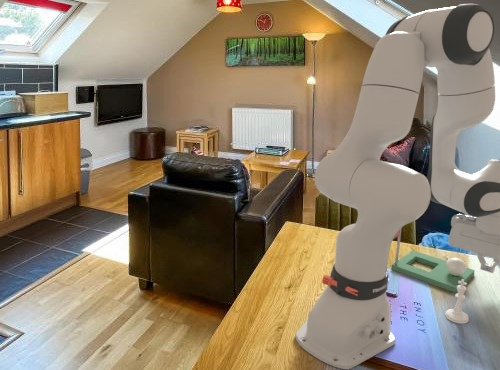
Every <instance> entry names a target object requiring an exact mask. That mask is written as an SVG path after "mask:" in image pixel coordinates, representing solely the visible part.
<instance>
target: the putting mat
mask: <svg viewBox="0 0 500 370" xmlns="http://www.w3.org/2000/svg"><path fill="white" fill-rule="evenodd" d="M402 228H403V227H401V228H400V229H399V230H398V232H397V233H396V234H395V236H394V238H393V240H394V239H396V238H397V243H396V251H395V252H396V253H395V258H394V259H395V261H394V262H393V263H392V264H391V270H394V271H396V272H398V273H400V274H403V275H407V276H409V277H412V278H413V279H417V280H420V281H422V282H424V283H428V284H431V285H433V286H436V287H438V288H441V289H444V290H445V291H446V290H447V291H449V292H452V293H455V294H458V291H457V286H458V285H461V284H460V283H458V281H462V279H464V282H465V283H468V282H469V280H471V279H472V278H473V277H474V275H475V271H476V270H475V269H473V268H469V267H466V271H465V273H464V274H462V275H460V276H454V275H451V274H450V273H449V272H448V271H447V269H446V263H447V261H448V260H445V259H441V258H438V257H435V256H432V255H428V254H425V253H424V252H423V253H422V252H419V251H416V250H412V251H410V252H408V253H407V254H405V255H404V256H403V257H400V258H399V254H400V245H401V238H402ZM414 262H417V263H421V264H424V265H426V266H430V267H433V269H431V270H430V271H429V270H428V271H427V270H424V269H422V268H419V267H416V266H413V265H411V264H413V263H414Z"/></svg>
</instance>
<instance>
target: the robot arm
mask: <svg viewBox="0 0 500 370" xmlns="http://www.w3.org/2000/svg"><path fill="white" fill-rule="evenodd" d="M494 35H495V23H494V19H493V16H492V15H491V13H490V12H489V11H488V9H487V8H486V7H485V6H483V5H481V4H477V3H476V4H475V3H463V4H458V5H457V6H450V7H442V8H438V9H437V8H433V9H428V10H425V11H421V12H417V13H415V14H413V15H407V16H404V17H401V18H400V19H398V20H396V21H394V22H393V23H392V24H391V25H390V27H388V29H387V31H386V33H385V35H383V36H382V37H381V38H380V39H378V41H377V42H376V44H375V46H374V48H373V50H372V53H371V55H370V58H369V60H368V62H367V66H366V68H365V69H366V70H365V73H364V76H363V79H362V83H361V87H360V91H359V96H358V100H357V103H356V104H357V105H356V108H355V112H354V116H353V119H352V122H351V125H350V128H349V129H348V131H347V133H346V135H345V136H344V138H343V140H342V141H341V142H340V144H339V145H338V146H337V147H336V148H335V149H334V150H333V151H332V152H330V153H329V154H328V155H326V156H324V157H323V158H322V159H321V160H320V161H319V163H318V164H317V165H316V169H315V172H314V183H315V184H314V185H315V187H316V189H317V190H318V191H319V192H320V194H323V195H324V196H325V197H327V198H329V199H330V200H331V201H333V202H335V203H338V204H340V205H344V206H347V207H350V208H352V209H356V211H357V219H356V221H355V223H351V224H349V225H346V226H344V227H343V228H342V229H341V230H340V231H339V232H338V234H337V236H336V238H335V239H336V243H335V254H334V255H335V256H334V257H335V258H334V263H333V265H332V269H331V270H330V275H328V274H325V275H323V276H322V278H321V279H322V281H321V283H322V284H323V285H326V287H325V289H324V290H323V291H322V293H321V295H320V296H319V298H318V299H317V301H316V302H315V303H314V305H313V307H312V308H311V310H310V311H309V314H308V316H307V317H308V318H307V320H306V321H305V322H304V323H303V324H302V326H301V327H299V329H298V330H297V331H296V332H295V336H294V337H295V341H296V342H297V343H298V344H299V346H300V347H302V349H303V350H305V351H306V352H307V353H308V354H310V355H311V356H313V357H314V358H316V359H317V360H320V361H321V362H323V363H325V364H327V365H330V366H332V367H334V368H338V369H340V370H341V369H343V370H350V369H353V368H354V367H356V366H358V365H360V364H361V363H362V364H363V362H365V361H367V360H369V359H371V358H373V357H374V356H375V355H378V354H381V352H383V351H385V350H387V349H389V348H390V347H392V346H394V345H395V344H396V338H395V335H394V334H393V333H392V331H391V330H392V329H391V327H392V325H391V323H392V322H391V321H392V304H391V302H390V300H389V297H388V296H387V290H388V285H389V282H390V281H389V272H388V264H389V257H390V251H391V246H392V243H393V240H394V239H395V238H394V236H395V234H396V233H397V232H398V230H399V229H400V228H401V227H402V228H403V227H404V226H406V225H407V224H410V223H412V222H415V221H416V220H418V219H419V218H420V217H421V216H423V214H425V212H426V211H427V209H428V207H429V205H430V202H431V201H432V202H433V203H436V204H439V205H442V206H446V207H448V208H451V209H452V210H455V211H457V212H459V213H458V214H454V215H453V216H452V217H451V220H450V226H451V229H450V232H449V235H448V243H449V245H450V246H451V247H454V248H457V249H461V250H463V251H464V250H465V251H468V252H472V253H475V254H477V259H478V261H479V263H480V270H481V271H485V272H487V273H491V274H494V272H495V271H496V267H497V266H498V265H499V264H500V158H499V159H498V158H492V159H489V160H488V162H487V164H486V165H485V166H484V167H483V168H482V169H481V170H479V171H477V172H475V173H472V174H471V173H468V172H466V171H462V170H461V169H459V168H458V166H457V165H456V162H455V161H456V153H457V152H456V151H457V150H456V149H457V138H458V135H459V134H460V133H461V131H464V130H467V129H470V128H473V127H476V126H479V124H481V123H483V122H485V121H486V119H488V117H489V116H490V115H491V114H492V112H493V111H494V107H495V103H496V82H495V70H494V69H495V68H494V64H493V58H492V52H491V50H490V46H491V45H492V43H493V39H494ZM426 67H428V68H435V69H436V70H437V77H436V79H437V80H436V81H437V82H436V84H437V107H436V108H437V109H436V112H435V113H434V115H433V117H432V118H431V119H432V120H431V124H430V132H429V133H430V135H429V136H430V137H429V157H428V158H429V159H428V160H429V162H428V171H427V175H424V174H423V173H421V172H418V171H416V170H414V169H413V168H409V167H407V166H405V165H402V164H398V163H393V162H388V161H385V160H384V161H383V160H381V157H382V155H383V153H384V151H386V149H387V148H388V147H390V145H391V144H393V143H397V142H398V141H402V140H403V139H404V138H406V136H407V135H408V134H409V133H410V131H411V128H412V125H413V120H414V117H415V113H416V108H417V104H418V100H419V96H420V92H421V87H422V83H423V77H424V71H425V69H426ZM462 213H463V214H462ZM393 238H394V239H393ZM485 257H488V258H492V259H493V262H494V263H493V264H492V263H489V262H487V261H486V259H485Z"/></svg>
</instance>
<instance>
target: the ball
mask: <svg viewBox="0 0 500 370" xmlns="http://www.w3.org/2000/svg"><path fill="white" fill-rule="evenodd" d="M446 261H447V263H446V269H447V271H448V272H449V273H450V274H451V275H454V276H460V275H462V274H464V273H465V271H466V268H467V265H466V262H465V261H464V260H463V259H461V258H459V257H450V258H449V259H448V260H446Z"/></svg>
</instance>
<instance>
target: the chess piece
mask: <svg viewBox="0 0 500 370" xmlns="http://www.w3.org/2000/svg"><path fill="white" fill-rule="evenodd" d="M458 283H460V284H461V285H458V286H457V291H458V292H457V293H455V295H454V297H455V298H456V302H455V305H454V307H453V308H449V309H447V310H445V317H446V319H448V320H449V321H451V322H454V323H455V324H467V323H468V322H469V315H468V314H467V313H466V312H465V311H463V300H465V299H466V296H465V295H464V294H465V293H466V291H467V284H468V282H466V283H465V282H464V279H462V281H458Z"/></svg>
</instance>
